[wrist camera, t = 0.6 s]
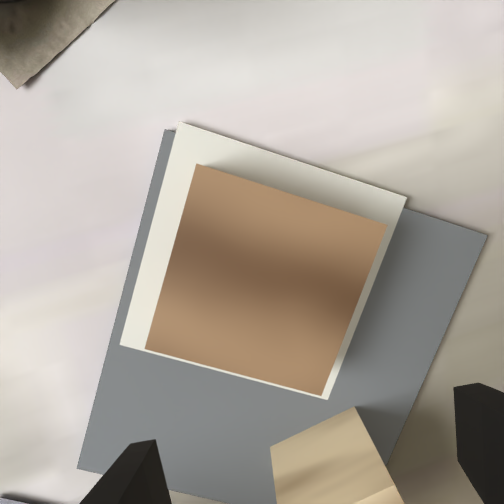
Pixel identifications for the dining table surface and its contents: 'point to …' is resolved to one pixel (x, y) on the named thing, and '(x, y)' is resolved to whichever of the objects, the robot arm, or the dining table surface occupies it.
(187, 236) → the walnut base
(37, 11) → the condiment
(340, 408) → the mat
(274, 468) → the maple cube
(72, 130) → the dining table surface
